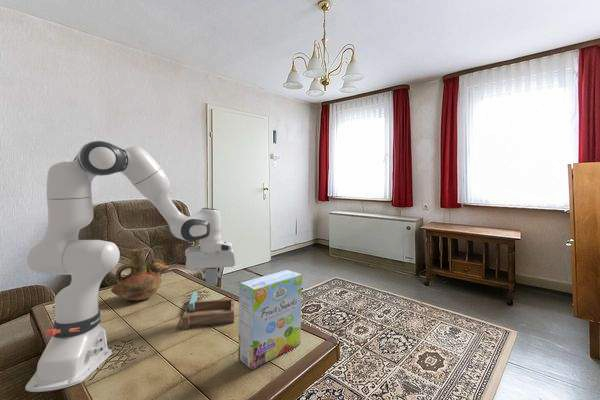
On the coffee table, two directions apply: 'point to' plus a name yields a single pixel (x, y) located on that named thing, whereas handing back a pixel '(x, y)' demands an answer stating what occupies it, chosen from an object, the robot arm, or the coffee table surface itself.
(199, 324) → the brown wooden tray
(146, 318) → the coffee table surface
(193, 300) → the retainer bar
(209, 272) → the jaw block
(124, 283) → the ceramic vessel
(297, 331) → the snack box
